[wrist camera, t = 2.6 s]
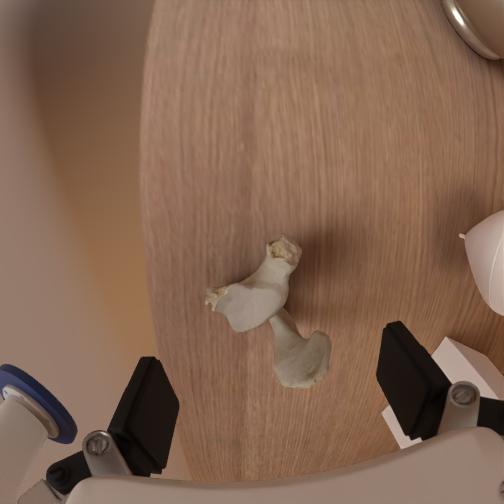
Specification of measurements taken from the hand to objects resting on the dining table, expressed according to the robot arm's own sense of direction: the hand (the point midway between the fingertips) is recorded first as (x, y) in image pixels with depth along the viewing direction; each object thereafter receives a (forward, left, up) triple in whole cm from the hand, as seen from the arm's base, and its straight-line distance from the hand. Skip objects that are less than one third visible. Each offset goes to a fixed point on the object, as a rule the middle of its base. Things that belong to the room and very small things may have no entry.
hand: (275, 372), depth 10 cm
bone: (0, 0, -10) cm, 10 cm away
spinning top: (+18, +1, -10) cm, 20 cm away
